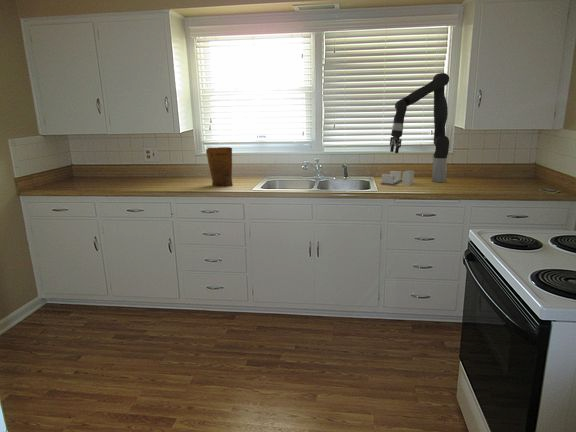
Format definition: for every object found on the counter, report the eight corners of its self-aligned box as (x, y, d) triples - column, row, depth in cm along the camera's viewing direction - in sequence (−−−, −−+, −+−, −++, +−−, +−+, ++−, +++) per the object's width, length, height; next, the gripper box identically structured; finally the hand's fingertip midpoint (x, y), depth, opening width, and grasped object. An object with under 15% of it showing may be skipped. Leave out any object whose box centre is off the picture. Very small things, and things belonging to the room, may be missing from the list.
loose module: (413, 183, 307) (414, 170, 305) (409, 185, 300) (409, 172, 298) (406, 182, 310) (407, 169, 307) (402, 184, 303) (402, 171, 300)
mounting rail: (402, 181, 316) (403, 171, 314) (392, 185, 300) (393, 175, 298) (390, 180, 321) (391, 170, 319) (380, 184, 305) (380, 174, 303)
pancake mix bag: (232, 187, 306) (230, 147, 299) (207, 186, 311) (205, 147, 303) (235, 185, 312) (233, 146, 305) (211, 184, 317) (209, 146, 310)
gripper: (406, 130, 297) (403, 154, 301) (398, 129, 310) (395, 151, 314) (396, 130, 295) (393, 153, 299) (388, 128, 309) (385, 151, 313)
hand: (394, 152), depth 307 cm, fingers open, 8 cm apart
